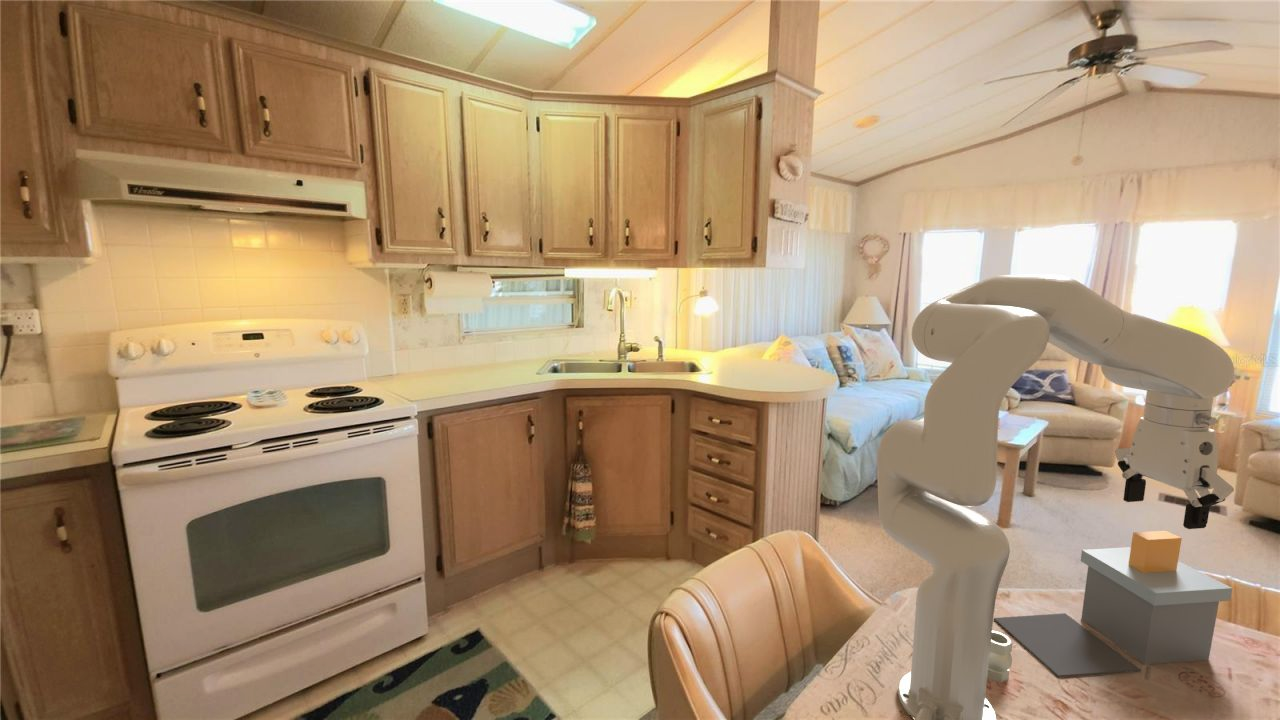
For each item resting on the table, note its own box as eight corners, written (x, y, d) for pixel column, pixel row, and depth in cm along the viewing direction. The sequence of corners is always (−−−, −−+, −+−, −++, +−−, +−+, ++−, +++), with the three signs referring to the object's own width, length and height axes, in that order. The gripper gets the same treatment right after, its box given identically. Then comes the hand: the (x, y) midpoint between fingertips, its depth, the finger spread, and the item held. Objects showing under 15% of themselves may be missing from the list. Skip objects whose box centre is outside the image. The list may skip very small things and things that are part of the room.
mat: (1058, 677, 83) (1058, 675, 83) (993, 619, 97) (994, 618, 97) (1140, 671, 84) (1140, 669, 84) (1064, 615, 98) (1065, 613, 97)
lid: (1154, 605, 82) (1161, 558, 81) (1080, 560, 95) (1085, 519, 94) (1230, 600, 83) (1238, 553, 82) (1146, 557, 96) (1153, 515, 95)
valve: (1024, 685, 82) (980, 633, 93) (1028, 647, 81) (983, 599, 92) (980, 683, 82) (942, 631, 94) (983, 646, 81) (945, 598, 93)
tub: (1143, 664, 85) (1154, 595, 83) (1081, 619, 96) (1089, 557, 94) (1208, 659, 86) (1220, 591, 84) (1138, 615, 97) (1148, 553, 95)
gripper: (1263, 430, 76) (1245, 538, 79) (1143, 401, 93) (1131, 490, 96) (1216, 433, 76) (1199, 541, 79) (1104, 403, 93) (1093, 493, 96)
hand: (1162, 513), depth 87 cm, fingers open, 9 cm apart
